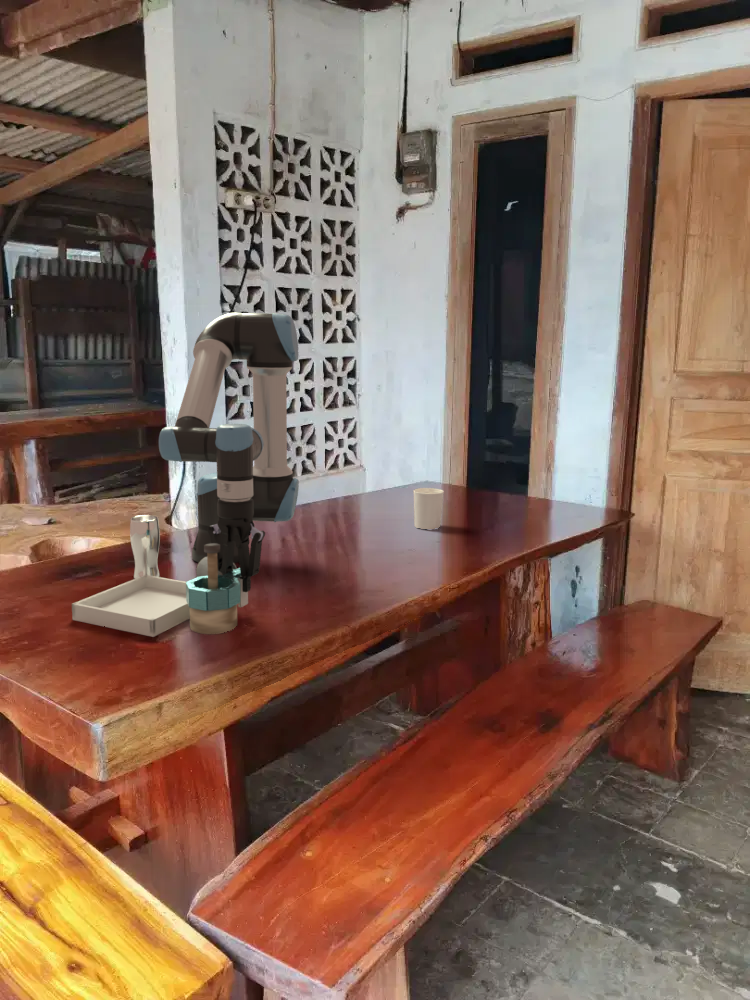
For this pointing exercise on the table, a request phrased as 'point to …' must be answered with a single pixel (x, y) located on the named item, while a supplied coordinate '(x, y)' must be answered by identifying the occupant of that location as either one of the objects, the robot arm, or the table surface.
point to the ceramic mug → (206, 568)
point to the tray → (137, 606)
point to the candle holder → (428, 507)
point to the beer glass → (145, 544)
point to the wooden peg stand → (215, 618)
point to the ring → (214, 592)
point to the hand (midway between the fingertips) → (237, 603)
